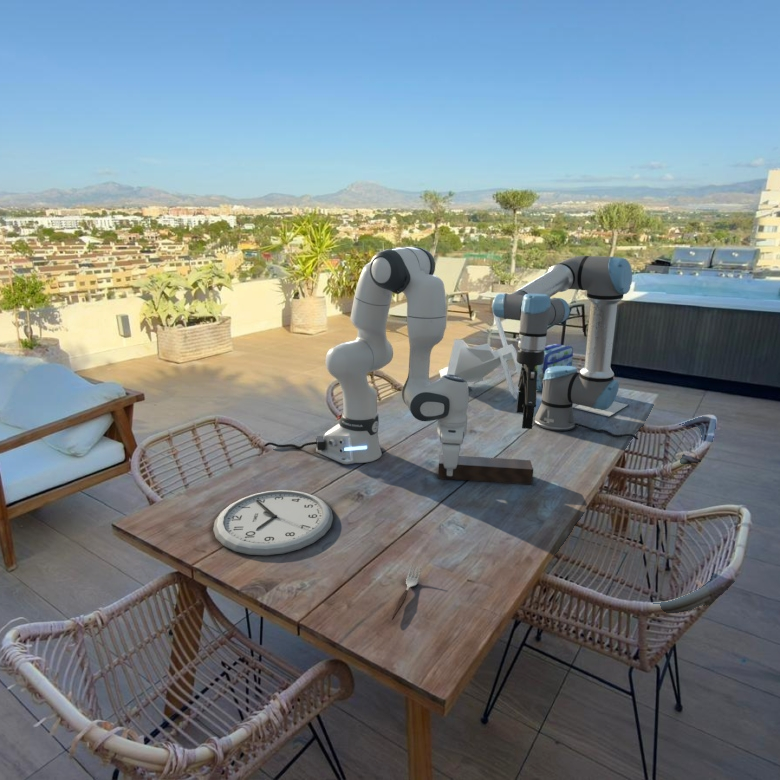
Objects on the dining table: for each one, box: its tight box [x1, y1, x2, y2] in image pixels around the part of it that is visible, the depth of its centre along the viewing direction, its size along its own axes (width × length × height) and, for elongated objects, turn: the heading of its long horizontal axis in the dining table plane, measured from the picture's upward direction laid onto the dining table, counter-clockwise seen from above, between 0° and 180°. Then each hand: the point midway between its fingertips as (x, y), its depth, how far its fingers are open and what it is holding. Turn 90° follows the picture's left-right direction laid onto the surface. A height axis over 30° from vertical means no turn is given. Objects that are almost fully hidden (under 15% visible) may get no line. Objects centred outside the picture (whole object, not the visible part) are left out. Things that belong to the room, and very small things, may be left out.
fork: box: [391, 565, 422, 620], centre depth 108 cm, size 3×16×2 cm, turn 160°
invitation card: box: [573, 401, 629, 418], centre depth 226 cm, size 21×1×15 cm
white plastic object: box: [438, 312, 522, 400], centre depth 245 cm, size 37×45×31 cm
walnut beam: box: [437, 454, 534, 485], centre depth 160 cm, size 28×6×5 cm, turn 84°
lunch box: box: [535, 343, 574, 392], centre depth 248 cm, size 26×11×21 cm, turn 134°
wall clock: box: [212, 489, 334, 556], centre depth 134 cm, size 30×2×30 cm
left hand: (449, 469), depth 161 cm, fingers closed on walnut beam, 6 cm apart
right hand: (523, 420), depth 154 cm, fingers open, 13 cm apart
